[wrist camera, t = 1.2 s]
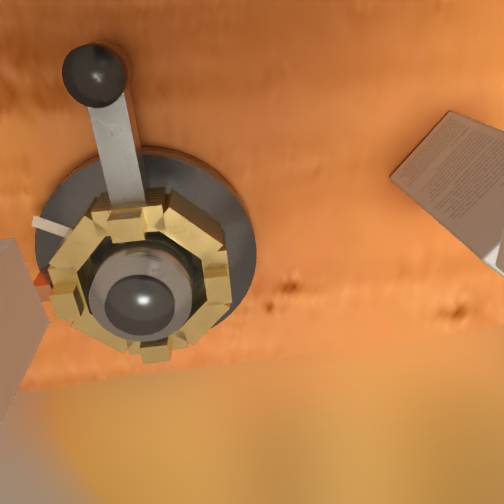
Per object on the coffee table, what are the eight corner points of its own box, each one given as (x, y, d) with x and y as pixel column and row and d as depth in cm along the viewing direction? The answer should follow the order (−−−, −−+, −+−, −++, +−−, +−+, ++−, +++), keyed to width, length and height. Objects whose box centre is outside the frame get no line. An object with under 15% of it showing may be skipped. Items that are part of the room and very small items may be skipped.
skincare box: (424, 208, 33) (528, 301, 22) (386, 177, 31) (479, 261, 21) (488, 143, 31) (634, 213, 20) (451, 106, 29) (588, 161, 19)
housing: (14, 157, 28) (-44, 203, 21) (246, 135, 29) (259, 174, 22) (76, 336, 35) (47, 412, 29) (259, 315, 36) (272, 384, 30)
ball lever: (-3, 48, 23) (-41, 56, 19) (202, 32, 23) (203, 36, 20) (89, 332, 32) (75, 373, 29) (233, 315, 33) (237, 354, 29)
